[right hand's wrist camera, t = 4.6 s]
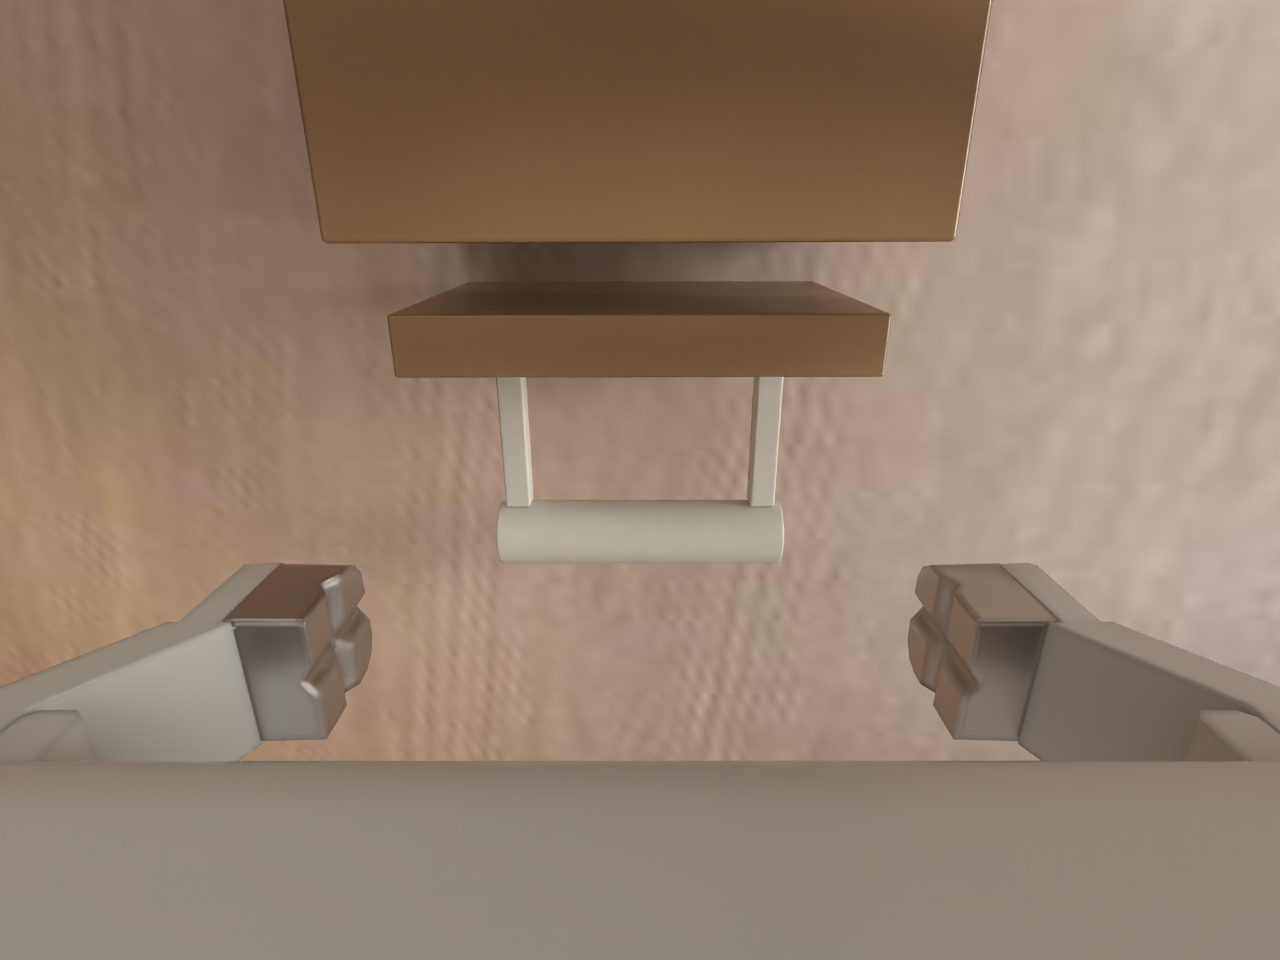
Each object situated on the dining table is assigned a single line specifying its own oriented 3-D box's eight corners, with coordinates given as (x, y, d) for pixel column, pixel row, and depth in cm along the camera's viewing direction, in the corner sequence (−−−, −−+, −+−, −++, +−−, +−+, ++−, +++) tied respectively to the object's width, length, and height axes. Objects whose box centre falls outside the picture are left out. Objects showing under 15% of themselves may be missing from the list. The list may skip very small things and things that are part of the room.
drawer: (795, 504, 21) (853, 618, 15) (487, 504, 21) (426, 618, 15) (891, -625, 13) (1104, -1340, 7) (384, -620, 13) (164, -1326, 7)
